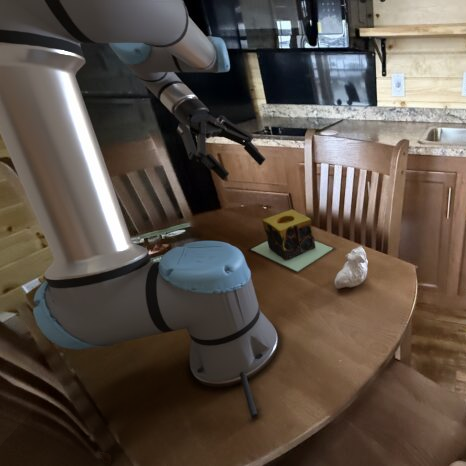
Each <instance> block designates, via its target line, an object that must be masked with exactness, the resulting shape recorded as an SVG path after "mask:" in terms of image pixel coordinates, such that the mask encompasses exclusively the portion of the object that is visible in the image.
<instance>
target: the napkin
mask: <svg viewBox="0 0 466 466" xmlns="http://www.w3.org/2000/svg"><path fill="white" fill-rule="evenodd" d="M314 242H315V246H316V248H314V249H311V250H309V251H306V252H305V253H303V254H301V255H299V256H296V257H294V258H292V259H290V260H284V259H283V258H282V257H280V256H278V255H277V254H276V253H275V252H273V251H272V250H271V249H270V248H269V245H268V241H267V240H266V241H264V242H262V243H260V244H258V245H256V246H254V247H252V248H250V251H252V252H254V253H257V254H258V255H261V256H263V257H265V258H266V259H268V260H271V261H273V262H275V263H278V264H280V265H281V266H283V267H286V268H287V269H289V270H292V271H294V272H296V273H298V272H300V271H301V270H304V268H307V266H309V265H311V264H312V263H314V262H316V261H317V260H318V259H320V258H322V257H323V256H324V255H326V254H327V253H330V252H331V251H332V250H333V249H334V247H332V246H329V245H326V244H324V243H322V242H319V241H316V240H314Z"/></svg>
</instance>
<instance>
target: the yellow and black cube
mask: <svg viewBox="0 0 466 466" xmlns="http://www.w3.org/2000/svg"><path fill="white" fill-rule="evenodd" d="M262 225H263V230H264V232H265V236H266V239H267V240H266V241H268V245H269V248H270V249H271V250H272V251H273V252H275V253H276V254H277V255H278V256H280V257H282V258H283V259H284V260H290V259H292V258H294V257H296V256H299V255H301V254H303V253H305V252H306V251H309V250H311V249H314V248H316V246H315V242H314V241H315V236H314V234H313V231H312V230H313V229H312V218H310V217H308V216H306V215H303V214H302V213H300V212H298V211H296V210H294V209H289V210H285V211H282V212H280V213H277V214H275V215H271V216H269V217H266V218H263V219H262Z"/></svg>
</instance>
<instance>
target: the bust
mask: <svg viewBox="0 0 466 466" xmlns="http://www.w3.org/2000/svg"><path fill="white" fill-rule="evenodd" d="M344 258H345V259H346V260H347V261H346V262H345V263H344V265H343V266H342V269H341V270H339V271H338V272H337V274H336V276H335V279H334V286H335V288H336V289H339V290H340V289H343V288H354V287H357V286H359V285H361V284H363V282H364V281H365V280H366V278H367V275H368V264H369V260H368V259H367V253H366V251H365V249H364V248H363V246H362V245H361V246H358V247H356V248H353V249H351V252H349V253H347V254H345V256H344Z"/></svg>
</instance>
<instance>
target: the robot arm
mask: <svg viewBox="0 0 466 466" xmlns="http://www.w3.org/2000/svg"><path fill="white" fill-rule="evenodd" d="M81 44H108V45H109V47H110V48H111V49H112V51H113V52H114V53H115V54H116V56H117V57H118V60H120V61H121V62H122V63H123V64H124V65H125V66H126V67H127V68H128V69H129V70H130V71H131V72H132V74H133V75H134V76H135V77H136V79H138V80H139V81H140V82H141V83H142V85H144V86H145V87H146V88H147V89H148V90H149V91H150V92H151V93H152V94H153V95H154V96H155V97H156V98H157V99H158V101H160V103H162V104H163V106H164V107H166V109H167V110H168V111H169V112H170V113H171V114H172V115H174V117H175V119H177V120H178V122H179V124H178V126H177V129H176V132H177V133H178V134H179V136H181V139H182V141H183V144H184V148H185V150H186V153H187V157H188V159H189V160H190V161H191V162H195V161H196V162H197V163H198V164H201V163H202V164H203V165H205V166H206V168H207V169H209V170H210V171H213V172H214V173H215V174H216V176H218V177H219V178H220V179H221V180H222V181H225V180H226V179H227V178H228V176H229V175H230V172H228V171H227V169H226V168H225V167H224V166H223V165H222V164H221V163H220V162H219V161H218V160H217V159H216V158H215V157H214V156H213V155H212V154H211V153H207V142H206V139H210V138H214V137H218V138H225V139H226V140H229V141H232V142H234V143H236V144H238V145H241V146H243V149H244V151H245V152H246V153H247V154H248V155H249V156H250V157H251V158H252V159H253V160H254V161H255V162H256V163H257V164H258V166H262V165H263V163H264V162H265V161H266V158H265V156H263V154H262V153H261V152H260V151H259V148H257V147H256V146H255V144H253V142H252V141H253V140H254V138H255V137H254V135H252V134H250V133H249V132H247V131H246V130H244V129H243V128H241V127H239V126H238V125H237V124H235V123H233V122H231V121H230V120H229V119H227V118H226V117H225V116H224V115H222V114H220V115H219V117H217V118H215V117H214V116H212V114H211V112H210V110H209V108H208V107H207V106H206V105H205V104H204V103H203V102H202V101H201V100H200V99H199V97H198V96H197V95H196V94H195V93H194V92H193V91H192V90H191V89H190V88H189V87H188V86H187V85H186V84H185V83H184V82H183V81H182V80H181V78H180V77H178V75H177V74H176V73H214V74H218V73H227V72H229V71H230V69H231V64H230V57H229V52H228V49H227V45H226V42H225V41H224V39H223V38H221V37H219V36H218V37H217V36H212V35H208V36H207V35H206V34H204V32H203V31H202V30H201V29H200V28H199V26H198V25H197V24H196V23H195V22H194V21H193V20H192V18H191V17H190V16H189V12H188V8H187V6H186V4H185V2H184V0H0V136H1V139H2V141H3V143H4V146H5V147H6V150H7V153H8V155H9V157H10V159H11V162H12V164H13V166H14V169H15V172H16V173H17V176H18V178H19V180H20V183H21V185H22V187H23V189H24V192H25V195H26V196H27V199H28V201H29V204H30V206H31V208H32V210H33V213H34V215H35V218H36V220H37V222H38V225H39V227H40V229H41V232H42V234H43V236H44V238H45V241H46V243H47V245H48V247H49V250H50V253H51V255H52V258H53V260H52V263H51V264H50V265H49V266H48V268H47V269H46V270H45V271H44V273H43V276H44V279H45V281H44V282H43V283H42V284H40V286H39V287H38V289H37V290H36V292H35V293H34V297H33V303H34V304H35V305H36V306H35V307H34V308H33V309H32V311H33V317H34V321H35V323H36V325H37V327H38V328H39V330H40V331H41V333H42V334H43V335H44V336H45V338H46V339H48V340H49V341H50V342H52V343H53V344H55V345H56V346H59V347H60V348H62V349H63V348H64V349H68V350H75V351H78V350H80V351H81V350H86V349H93V348H105V347H110V346H113V345H116V344H119V343H124V342H128V341H129V342H130V341H133V340H138V339H143V338H147V337H151V336H156V335H161V334H165V333H170V332H174V331H175V332H176V331H180V330H185V329H186V331H187V333H188V336H189V337H190V345H189V367H190V371H191V372H192V375H193V377H194V378H195V380H196V381H197V382H198V383H200V384H202V385H203V386H206V387H209V388H227V387H233V386H236V385H239V384H242V388H243V392H244V395H245V400H246V402H247V406H248V410H249V413H250V417H251V418H252V419H255V418H257V417H258V411H257V408H256V405H255V404H256V403H255V400H254V398H253V394H252V390H251V387H250V384H249V380H250V379H252V378H254V377H255V376H257V375H258V374H259V373H260V372H262V371H263V370H264V369H265V368H266V367H267V366H268V365H269V364H270V362H271V361H272V360H273V359H274V358H275V355H276V354H277V351H278V347H279V337H278V333H277V330H276V328H275V326H274V325H273V323H271V321H270V320H269V319H268V318H267V316H266V315H265V314H264V313H263V312H262V311H261V309H260V306H259V302H258V298H257V295H256V291H255V287H254V284H253V280H252V273H251V270H250V267H249V266H248V264H247V261H246V257H245V255H244V254H243V252H242V251H241V250H240V249H239V248H238V247H236V246H234V245H232V244H230V243H228V242H225V241H219V240H199V241H191V242H188V243H184V244H183V245H182V246H176V247H173V248H172V249H169V250H168V251H167V252H165V253H164V254H163V255H162V256H161V258H160V259H159V261H152V259H151V256H150V253H149V250H148V249H147V247H144V246H143V245H139V244H137V243H135V242H134V241H132V238H131V234H130V231H129V228H128V226H127V223H126V220H125V217H124V214H123V211H122V208H121V205H120V202H119V199H118V197H117V193H116V190H115V188H114V185H113V182H112V179H111V176H110V173H109V171H108V167H107V164H106V162H105V158H104V156H103V153H102V150H101V147H100V144H99V141H98V138H97V135H96V132H95V130H94V127H93V123H92V120H91V118H90V114H89V112H88V109H87V105H86V103H85V100H84V97H83V94H82V91H81V89H80V86H79V83H78V80H77V77H76V76H77V73H78V72H79V70H80V69H81V68H82V67H83V66H84V65H85V64H86V62H87V61H86V58H85V55H84V53H83V49H82V46H81ZM192 133H193V134H196V135H195V137H196V138H195V139H196V144H195V141H194V138H193V135H192Z"/></svg>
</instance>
